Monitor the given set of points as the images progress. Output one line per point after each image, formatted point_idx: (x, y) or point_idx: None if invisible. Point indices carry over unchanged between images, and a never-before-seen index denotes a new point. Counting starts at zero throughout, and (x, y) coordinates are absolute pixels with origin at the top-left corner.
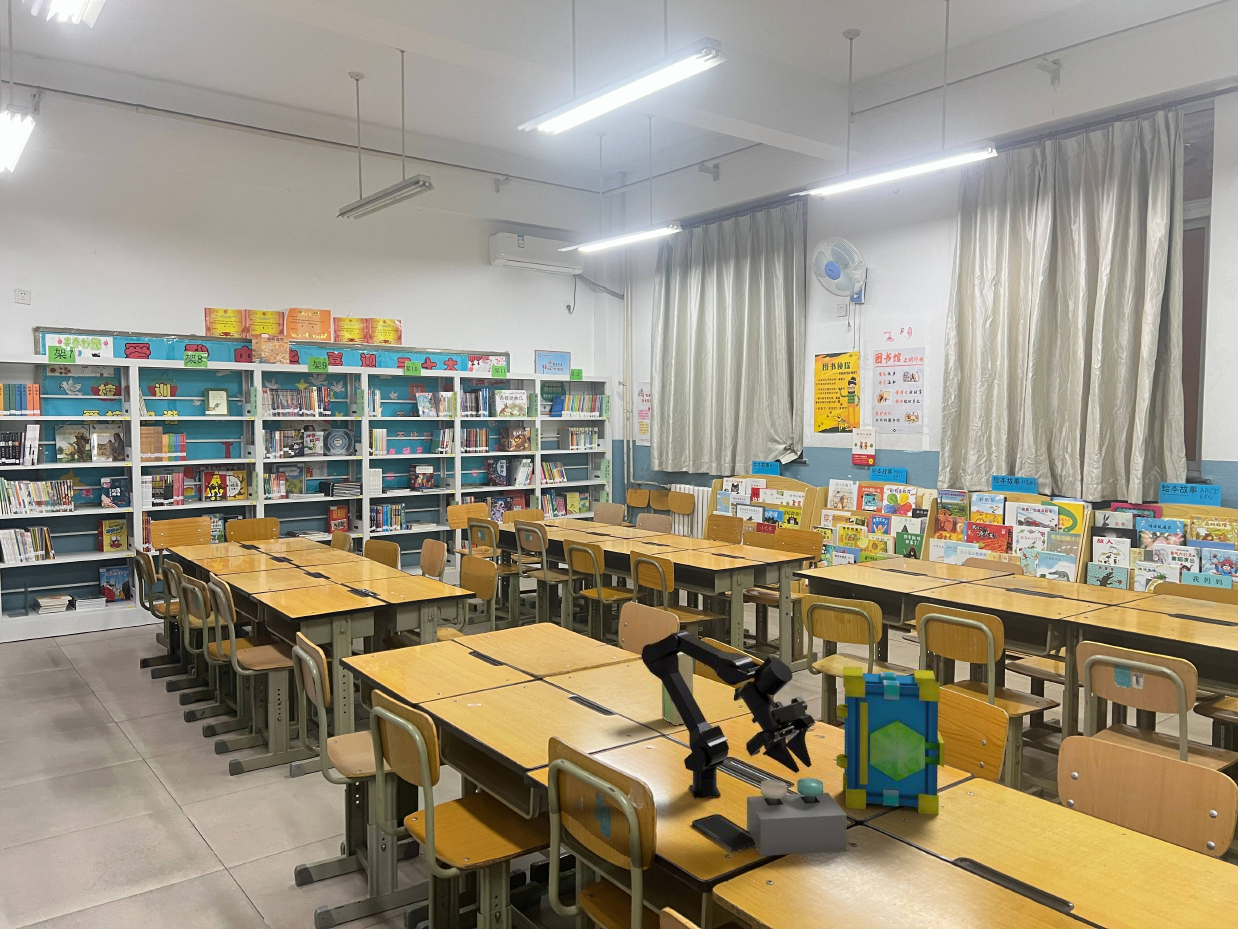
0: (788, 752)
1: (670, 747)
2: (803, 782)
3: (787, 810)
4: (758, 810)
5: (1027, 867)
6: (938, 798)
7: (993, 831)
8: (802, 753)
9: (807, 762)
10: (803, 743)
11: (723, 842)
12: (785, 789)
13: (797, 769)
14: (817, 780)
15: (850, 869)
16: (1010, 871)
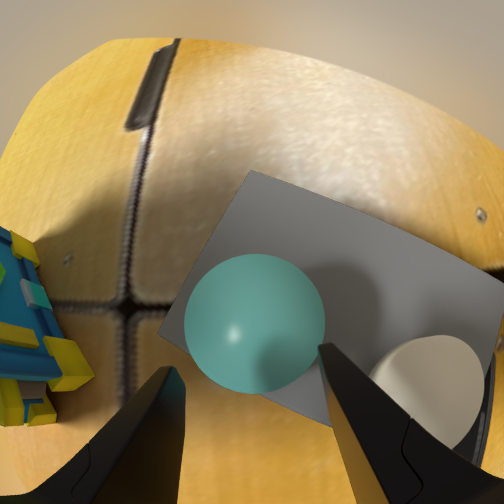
0: (398, 462)
1: None
2: (278, 348)
3: (412, 297)
4: (487, 347)
5: (108, 98)
6: (13, 232)
7: (44, 172)
8: (147, 456)
9: (171, 394)
10: (72, 485)
11: (489, 389)
12: (407, 345)
13: (336, 348)
14: (194, 323)
15: (318, 166)
16: (128, 94)
